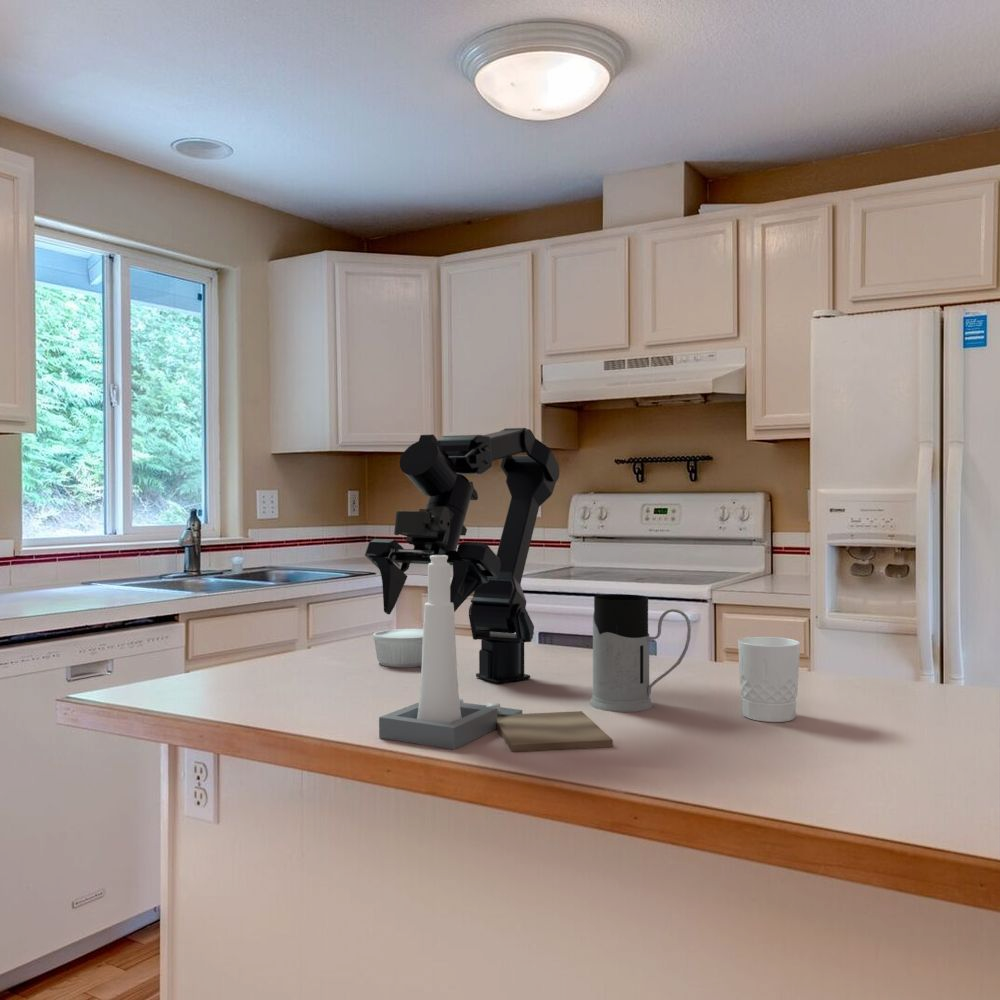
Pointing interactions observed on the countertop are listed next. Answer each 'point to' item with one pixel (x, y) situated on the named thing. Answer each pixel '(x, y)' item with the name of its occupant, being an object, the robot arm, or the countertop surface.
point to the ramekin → (399, 647)
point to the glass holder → (624, 652)
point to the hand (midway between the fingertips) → (415, 615)
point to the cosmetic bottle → (439, 649)
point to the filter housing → (442, 725)
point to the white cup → (769, 677)
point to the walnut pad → (551, 731)
